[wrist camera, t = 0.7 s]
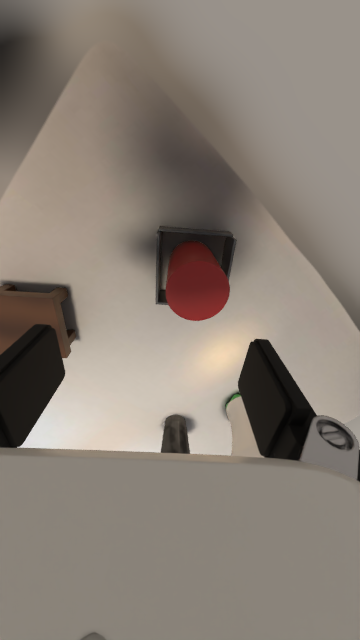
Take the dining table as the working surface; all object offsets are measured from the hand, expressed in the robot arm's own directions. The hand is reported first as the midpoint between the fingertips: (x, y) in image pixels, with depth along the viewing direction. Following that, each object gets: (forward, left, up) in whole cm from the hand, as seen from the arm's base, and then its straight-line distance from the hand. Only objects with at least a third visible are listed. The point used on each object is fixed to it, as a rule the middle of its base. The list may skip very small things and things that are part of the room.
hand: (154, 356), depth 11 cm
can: (+1, +3, -23) cm, 23 cm away
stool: (+11, -20, -23) cm, 32 cm away
